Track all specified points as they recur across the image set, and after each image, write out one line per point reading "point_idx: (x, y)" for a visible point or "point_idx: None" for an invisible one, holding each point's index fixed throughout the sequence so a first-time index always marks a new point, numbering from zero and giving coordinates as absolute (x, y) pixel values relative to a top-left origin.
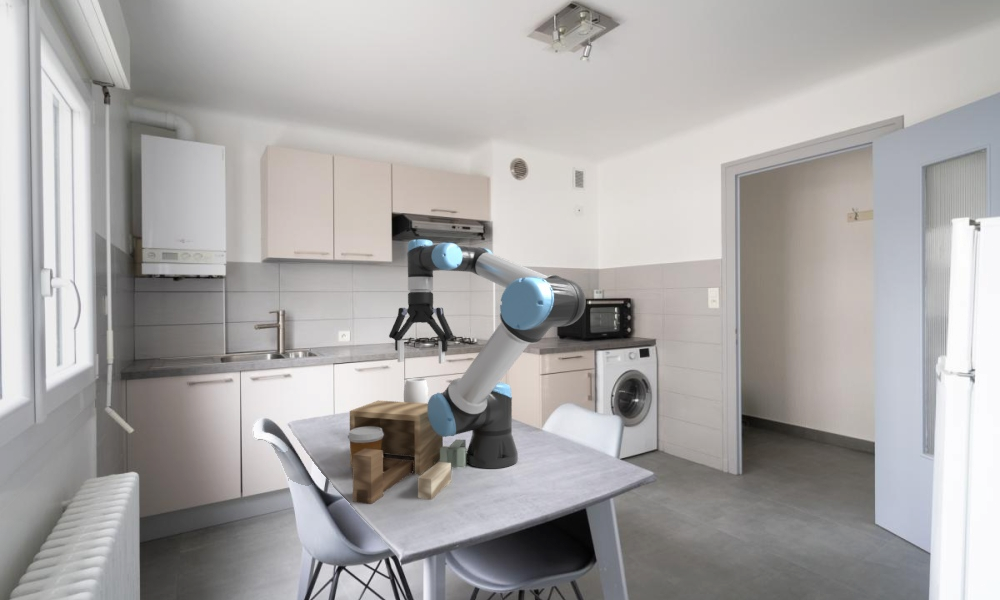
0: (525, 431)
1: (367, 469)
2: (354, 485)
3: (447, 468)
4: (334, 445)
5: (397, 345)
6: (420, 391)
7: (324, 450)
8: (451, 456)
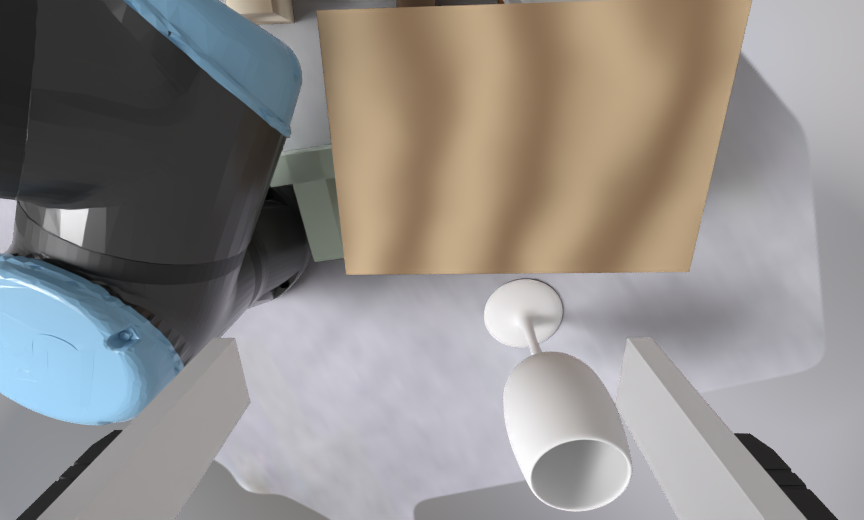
0: (280, 466)
1: None
2: None
3: None
4: (776, 222)
5: (765, 471)
6: (526, 406)
7: (789, 167)
8: (309, 149)
